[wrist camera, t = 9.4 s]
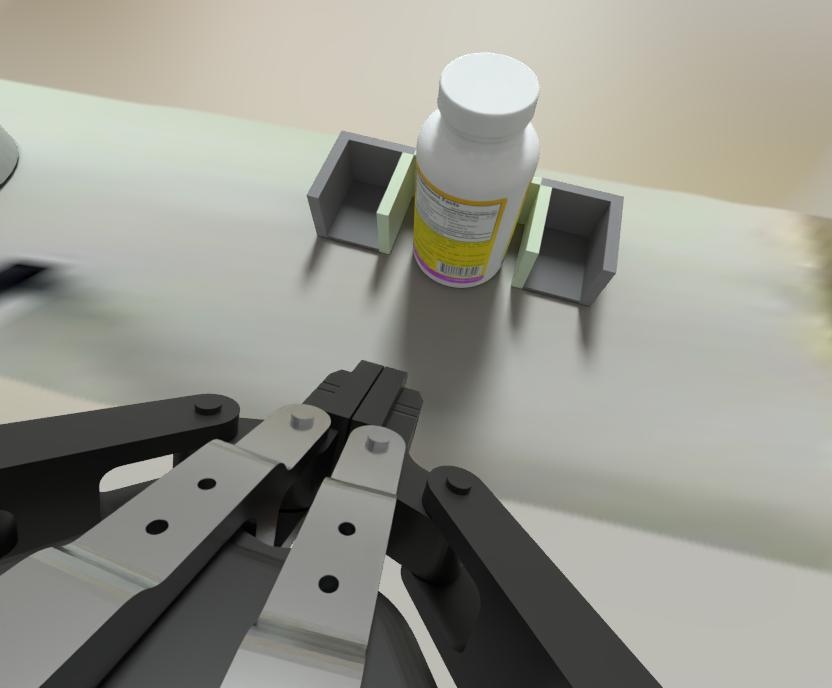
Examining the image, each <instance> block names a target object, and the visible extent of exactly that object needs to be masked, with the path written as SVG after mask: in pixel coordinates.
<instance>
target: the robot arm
mask: <svg viewBox="0 0 832 688" xmlns="http://www.w3.org/2000/svg"><path fill="white" fill-rule="evenodd" d="M17 158H18V148H17V145H16V143H15V141H14V139H13V138H12V137H11V136H10V135H9V134H8V133H7V132H6V131H5V130H4V129H3V128H2V127H1V126H0V184H1V183H3V182H4V181H5V180H6V178H7V177H8V176H9V175H10V174H11V172H12V171H13V169H14V167H15V165H16V163H17ZM407 375H408V373H407V372H403V371H400V370H396V369H393V368H389V367H385V368H384V366H382V365H378V364H375V363H371V362H368V361H364V360H361V362H360V363H359V364H358V365H357V366H356V368H355V369H354V370H353V371H352V372H349V371H345V370H339V371H337V372H334V373H331V374H329V375H328V376H327V377H326V379H325V380H324V381H323V383H321V384H320V385H319V386H318V387H317V389H315V390H314V391H313V392H312V394H311V395H310V396H309V397H308V398H307V399H306V400H305V401H304V402H303V403H302V404H292V405H287V406H284V407H281V408H280V409H278V410H277V411H275V412H274V413H273V414H272V415H271V416H269V417H268V418H267V419H266V420H259V419H249V418H239V413H240V407H239V405H238V403H237V402H236V401H234V400H233V399H231V398H229V397H226V396H223V395H217V394H199V395H192V396H186V397H179V398H173V399H166V400H160V401H153V402H146V403H140V404H133V405H127V406H120V407H113V408H107V409H100V410H94V411H87V412H81V413H75V414H67V415H61V416H54V417H47V418H41V419H34V420H28V421H21V422H14V423H8V424H2V425H0V688H438V687H437V685H436V683H435V680H434V678H433V676H432V674H431V672H430V669H429V667H428V665H427V662H426V660H425V658H424V656H423V654H422V651H421V649H420V647H419V644H418V642H417V640H416V638H415V636H414V634H413V632H412V630H411V628H410V627H409V625H408V623H407V622H406V620H405V619H404V617H403V616H402V614H401V613H400V612H399V610H398V609H397V608H396V607H395V606H394V605H393V604H392V603H391V601H390V600H389V599H388V598H386V597H385V596H384V595H383V594H382V593H380V592H379V591H378V589H379V584H380V579H381V574H382V569H383V564H384V559H385V554H386V555H387V556H389V557H391V558H392V559H393V560H395V561H396V562H398V563H399V564H401V565H402V566H401V578H402V581H403V583H404V585H405V587H406V589H407V591H408V593H409V595H410V597H411V599H412V601H413V603H414V605H415V606H416V608H417V610H418V612H419V614H420V616H421V618H422V620H423V622H424V624H425V626H426V628H427V630H428V632H429V634H430V636H431V638H432V640H433V642H434V643H435V645H436V647H437V649H438V651H439V653H440V655H441V657H442V659H443V661H444V663H445V665H446V667H447V669H448V671H449V673H450V675H451V676H452V678H453V680H454V682H455V684H456V686H457V688H662V686H661V685H660V684H659V683H658V682H657V680H656V679H655V678H654V677H653V676H652V675H651V674H650V673H649V671H648V670H647V669H646V668H645V667H644V666H643V664H642V663H641V662H640V661H639V660H638V659H637V658H636V656H635V655H634V654H633V653H632V652H631V651H630V650H629V649H628V647H627V646H626V645H625V644H624V643H623V642H622V640H621V639H620V638H619V637H618V636H617V635H616V634H615V633H614V631H613V630H612V629H611V628H610V627H609V626H608V625H607V623H606V622H605V621H604V620H603V619H602V618H601V617H600V615H599V614H598V613H597V612H596V611H595V610H594V609H593V607H592V606H591V605H590V604H589V603H588V602H587V601H586V599H585V598H584V597H583V596H582V595H581V594H580V593H579V591H578V590H577V589H576V588H575V587H574V586H573V585H572V583H571V582H570V581H569V580H568V579H567V578H566V577H565V575H564V574H563V573H562V572H561V571H560V570H559V569H558V567H557V566H556V565H555V564H554V563H553V562H552V561H551V560H550V558H549V557H548V556H547V555H546V554H545V553H544V551H543V550H542V549H541V548H540V547H539V546H538V545H537V543H536V542H535V541H534V540H533V539H532V538H531V537H530V536H529V534H528V533H527V532H526V531H525V530H524V529H523V528H522V527H521V525H520V524H519V523H518V522H517V521H516V520H515V519H514V517H513V516H512V515H511V514H510V513H509V512H508V510H507V509H506V508H505V507H504V506H503V505H502V504H501V502H500V501H499V500H498V499H497V498H496V497H495V496H494V494H493V493H492V492H491V491H490V490H489V489H488V488H487V486H486V485H485V484H484V483H483V482H482V481H481V480H480V479H479V478H478V477H477V476H476V475H474V474H473V473H471V472H469V471H467V470H465V469H462V468H459V467H455V466H440V467H437V468H435V469H433V470H432V471H431V472H428V471H426V470H425V469H423V468H421V467H420V466H419V465H417V464H416V463H415V462H414V461H413V460H412V458H411V457H410V455H409V450H410V447H411V444H412V440H413V437H414V433H415V429H416V426H417V422H418V418H419V414H420V411H421V407H422V403H423V400H422V397H421V395H420V393H419V392H418V391H414V390H411V389H408V388H405V384H406V380H407ZM170 454H173V469H172V470H171V471H169V472H168V473H166V474H165V475H164V476H163V477H161V478H158V479H154V480H151V481H147V482H143V483H139V484H135V485H131V486H128V487H124V488H120V489H116V490H112V491H108V492H99V483H100V480H101V479H102V477H103V476H104V475H105V474H106V473H107V472H109V471H110V470H112V469H114V468H116V467H119V466H123V465H127V464H131V463H136V462H140V461H144V460H149V459H152V458H157V457H162V456H165V455H170ZM295 539H296V540H295ZM294 541H295V542H294ZM293 542H294V544H293ZM292 544H293V546H292V548H290V547H291V545H292Z"/></svg>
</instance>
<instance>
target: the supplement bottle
mask: <svg viewBox="0 0 832 688" xmlns="http://www.w3.org/2000/svg"><path fill="white" fill-rule="evenodd" d="M439 85H440V86H439V94H438V102H437V103H438V109H437V110H436V111H434V112H433V113H432V114H431V115H430V116H429V117H428V118H427V120H426V121H425V122H424V124H423V126H422V128H421V129H420V132H419V135H418V139H417V148H416V180H415V210H414V241H413V248H414V255H415V258H416V261H417V263H418V265H419V267H420V268H421V270H422V271H423V272H424V273H425V274H426V275H427V276H429V277H430V278H431V279H433V280H435V281H436V282H438V283H440V284H443V285H446V286H450V287H456V288H467V287H473V286H477V285H479V284H482V283H484V282H486V281H488V280H489V279H490V278H492V277H493V276H494V275H495V274H496V273H497V272H498V270H499V269H500V267H501V265H502V263H503V261H504V258H505V256H506V253H507V250H508V247H509V245H510V241H511V239H512V236H513V233H514V230H515V227H516V224H517V221H518V218H519V216H520V213H521V210H522V207H523V204H524V201H525V198H526V196H527V193H528V190H529V187H530V185H531V182H532V179H533V176H534V173H535V170H536V167H537V164H538V160H539V154H540V146H539V140H538V136H537V133H536V131H535V129H534V127H533V125H532V124H531V123H530V121H531V120H532V118H533V115H534V112H535V108H536V104H537V101H538V97H539V92H540V85H539V81H538V79H537V77H536V75H535V74H534V72H533V71H532V70H531V69H530V68H529V67H528V66H526V65H525V64H523V63H522V62H520V61H518V60H516V59H513V58H511V57H508V56H505V55H501V54H496V53H486V52H483V53H472V54H467V55H464V56H461V57H458V58H456V59H455V60H453V61H451V62H450V63H449V64H448V65H447V66H446V67H445V69H444V70H443V72H442V74H441V77H440V84H439Z"/></svg>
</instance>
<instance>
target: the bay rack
mask: <svg viewBox="0 0 832 688" xmlns="http://www.w3.org/2000/svg"><path fill="white" fill-rule="evenodd" d="M415 180H416V148H414V147H409V146H405V145H401V144H397V143H392V142H388V141H384V140H379V139H375V138H371V137H367V136H362V135H358V134H354V133H350V132H345V131H341V133H340V135H339V137H338V138H337V140H336V142H335V144H334V146H333V148H332V150H331V151H330V153H329V155H328V157H327V159H326V161H325V162H324V164H323V166H322V168H321V170H320V172H319V174H318V175H317V177H316V179H315V181H314V183H313V185H312V186H311V188H310V190H309V192H308V194H307V198H308V202H309V206H310V210H311V213H312V217H313V221H314V225H315V229H316V233H317V236H321V237H325V238H328V239H332V240H336V241H340V242H344V243H348V244H352V245H355V246H359V247H363V248H367V249H371V250H375V251H378V252H382V253H386V254H390V252H391V250H392V247H393V245H394V242H395V240H396V237H397V234H398V232H399V229H400V227H401V224H402V222H403V219H404V217H405V214H406V212H407V209H408V207H409V204H410V202H411V199H412V197H413V198H415ZM623 200H624V197H622V196H618V195H614V194H610V193H605V192H601V191H597V190H593V189H588V188H584V187H580V186H575V185H571V184H567V183H563V182H558V181H554V180H550V179H546V178H541V177H537V176H533V179H532V182H531V185H530V187H529V190H528V193H527V196H526V198H525V201H524V204H523V207H522V210H521V213H520V216H519V218H518V221H517V223H519V224H523V225H525V227H524V231H523V236H522V240H521V244H520V249H519V253H518V257H517V262H516V266H515V270H514V275H513V279H512V283H511V286H513V287H517V288H521V289H525V290H529V291H533V292H536V293H540V294H544V295H548V296H552V297H556V298H560V299H563V300H567V301H571V302H575V303H579V304H583V305H586V306H590V305H591V304H592V303H593V302H594V300H595V299H596V298H597V296H598V295H599V294H600V293H601V291H602V290H603V289H604V288H605V286H606V285H607V284H608V283H609V281H610V280H611V279H612V277H613V276H614V275H615V274H616V268H617V259H618V249H619V239H620V229H621V219H622V210H623Z"/></svg>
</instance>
